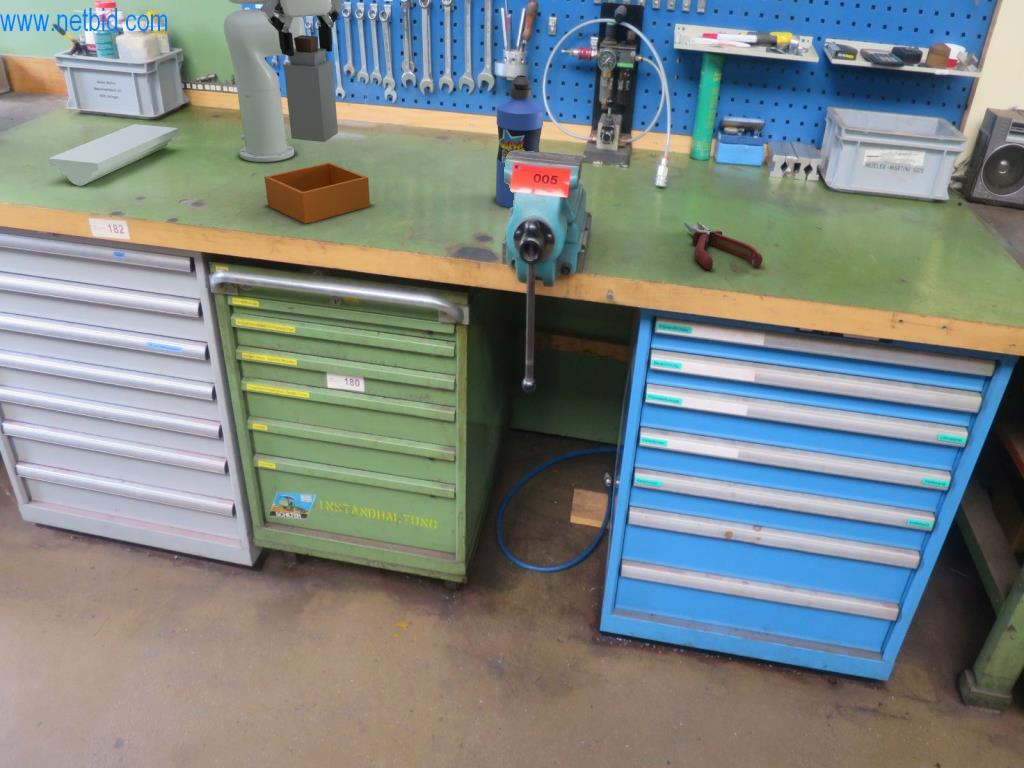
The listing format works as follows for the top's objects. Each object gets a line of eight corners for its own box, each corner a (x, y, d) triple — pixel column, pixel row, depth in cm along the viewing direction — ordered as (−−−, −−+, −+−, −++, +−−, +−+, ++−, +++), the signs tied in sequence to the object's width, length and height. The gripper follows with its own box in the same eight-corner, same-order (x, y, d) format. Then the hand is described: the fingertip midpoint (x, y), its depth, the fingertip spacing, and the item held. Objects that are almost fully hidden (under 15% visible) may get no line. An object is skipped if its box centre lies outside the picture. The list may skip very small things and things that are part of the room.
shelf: (182, 150, 190) (178, 128, 188) (103, 188, 165) (97, 163, 163) (139, 146, 192) (134, 124, 189) (55, 183, 167) (48, 158, 164)
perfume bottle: (324, 142, 152) (315, 41, 142) (291, 138, 153) (280, 38, 143) (338, 133, 157) (330, 35, 148) (306, 129, 158) (296, 32, 149)
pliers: (716, 227, 157) (719, 214, 156) (764, 268, 140) (767, 254, 139) (662, 230, 155) (664, 217, 154) (703, 272, 138) (706, 258, 137)
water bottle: (507, 191, 172) (510, 69, 159) (546, 198, 169) (552, 75, 156) (487, 203, 165) (489, 77, 152) (527, 211, 162) (533, 83, 148)
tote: (268, 206, 160) (264, 176, 156) (332, 190, 169) (329, 162, 166) (305, 223, 152) (302, 193, 149) (370, 206, 161) (368, 177, 158)
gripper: (327, -58, 145) (334, 45, 154) (240, -57, 134) (254, 54, 144) (351, -55, 141) (357, 51, 150) (263, -53, 130) (276, 61, 139)
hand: (307, 52), depth 147 cm, fingers closed on perfume bottle, 7 cm apart
